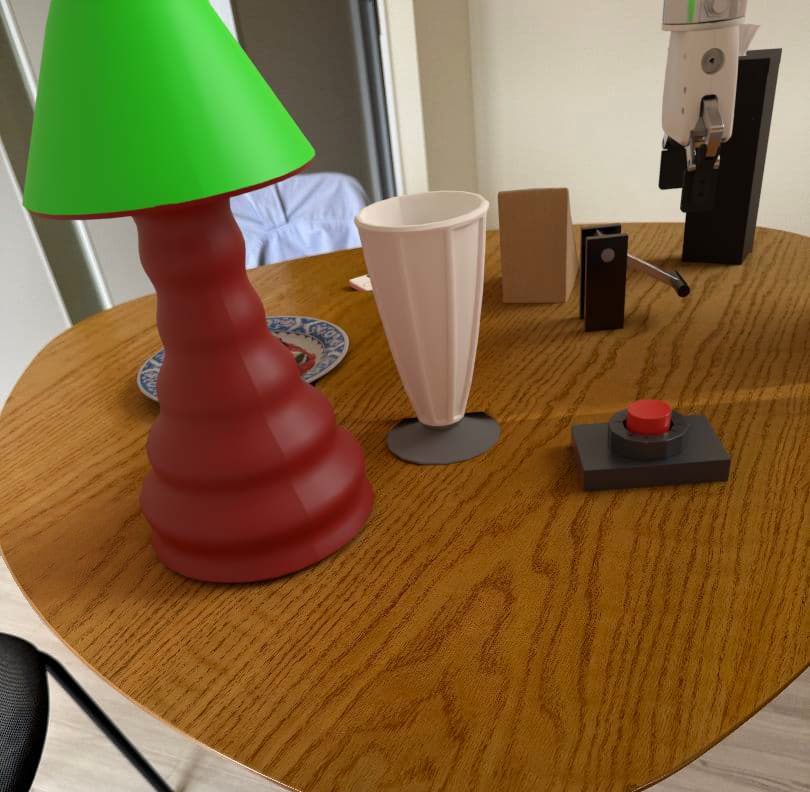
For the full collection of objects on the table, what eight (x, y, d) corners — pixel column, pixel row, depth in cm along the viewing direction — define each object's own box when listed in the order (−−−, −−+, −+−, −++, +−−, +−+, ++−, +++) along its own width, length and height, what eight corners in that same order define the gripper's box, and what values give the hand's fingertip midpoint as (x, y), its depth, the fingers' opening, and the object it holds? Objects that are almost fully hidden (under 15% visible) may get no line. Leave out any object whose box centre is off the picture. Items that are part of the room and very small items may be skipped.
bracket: (644, 315, 96) (651, 215, 89) (659, 341, 90) (667, 235, 83) (546, 325, 97) (545, 227, 90) (553, 350, 91) (553, 247, 84)
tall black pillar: (740, 275, 103) (775, 23, 87) (679, 271, 107) (701, 29, 90) (752, 256, 109) (787, 15, 92) (693, 253, 112) (717, 21, 96)
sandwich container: (582, 271, 111) (584, 157, 102) (568, 312, 100) (569, 187, 91) (522, 272, 114) (519, 161, 105) (501, 312, 102) (496, 190, 93)
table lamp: (210, 624, 59) (-77, -182, 32) (121, 517, 72) (-131, -110, 46) (419, 515, 67) (328, -196, 40) (304, 438, 81) (180, -131, 54)
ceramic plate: (323, 317, 109) (320, 296, 107) (377, 387, 88) (373, 362, 87) (137, 360, 104) (130, 338, 102) (148, 444, 83) (140, 419, 82)
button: (664, 415, 69) (666, 397, 68) (674, 435, 66) (676, 416, 65) (622, 418, 69) (623, 400, 68) (630, 438, 66) (631, 420, 65)
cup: (412, 478, 72) (380, 237, 59) (369, 428, 81) (334, 209, 68) (522, 443, 75) (515, 206, 62) (470, 398, 83) (454, 182, 71)
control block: (702, 435, 72) (707, 395, 70) (727, 481, 66) (734, 440, 63) (570, 445, 73) (571, 407, 71) (583, 492, 67) (584, 452, 65)
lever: (672, 288, 93) (684, 269, 91) (682, 303, 89) (695, 284, 87) (583, 245, 90) (594, 226, 89) (590, 259, 86) (602, 238, 85)
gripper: (776, 8, 67) (745, 217, 77) (718, -1, 81) (698, 177, 91) (687, 18, 67) (667, 224, 78) (644, 8, 81) (632, 184, 91)
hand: (684, 199), depth 84 cm, fingers open, 9 cm apart
